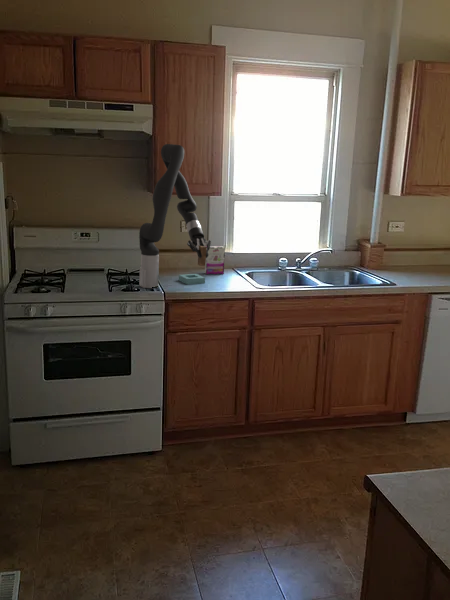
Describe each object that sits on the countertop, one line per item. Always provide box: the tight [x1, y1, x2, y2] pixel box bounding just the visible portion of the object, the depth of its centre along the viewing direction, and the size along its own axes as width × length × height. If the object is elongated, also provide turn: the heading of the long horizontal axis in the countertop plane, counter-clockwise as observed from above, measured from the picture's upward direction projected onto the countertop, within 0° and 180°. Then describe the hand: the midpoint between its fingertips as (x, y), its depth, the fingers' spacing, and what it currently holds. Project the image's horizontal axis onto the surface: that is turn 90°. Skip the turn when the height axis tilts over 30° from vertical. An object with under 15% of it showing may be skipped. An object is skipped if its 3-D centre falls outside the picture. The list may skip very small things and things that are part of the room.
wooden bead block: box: [178, 273, 206, 285], centre depth 316 cm, size 11×11×3 cm
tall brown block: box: [197, 245, 207, 267], centre depth 297 cm, size 3×3×10 cm
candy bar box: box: [204, 245, 226, 275], centre depth 339 cm, size 11×5×16 cm, turn 105°
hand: (203, 256), depth 296 cm, fingers closed on tall brown block, 3 cm apart
